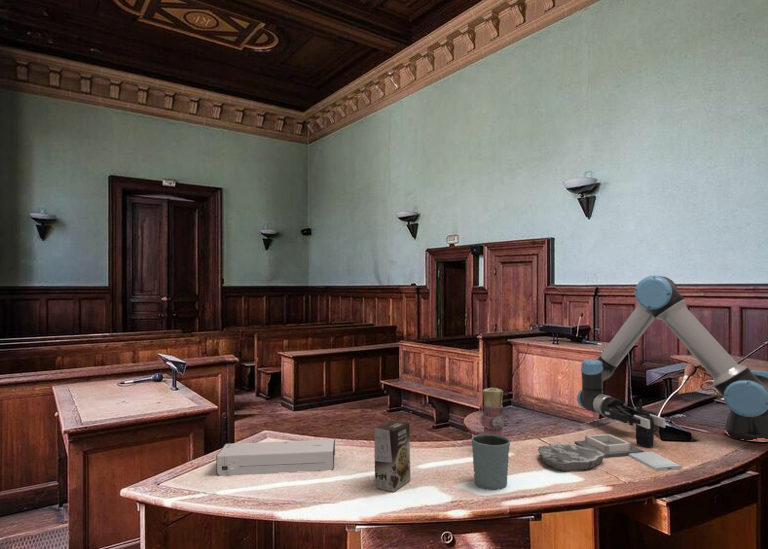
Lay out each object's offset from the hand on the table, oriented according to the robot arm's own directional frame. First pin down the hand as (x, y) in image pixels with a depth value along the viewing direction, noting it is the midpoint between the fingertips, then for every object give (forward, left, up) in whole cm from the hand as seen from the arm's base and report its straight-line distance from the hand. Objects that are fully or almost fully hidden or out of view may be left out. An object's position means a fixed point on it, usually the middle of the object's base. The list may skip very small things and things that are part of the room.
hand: (656, 423), depth 156 cm
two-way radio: (0, -5, -9) cm, 10 cm away
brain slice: (+33, +2, -9) cm, 34 cm away
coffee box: (+88, +6, -9) cm, 89 cm away
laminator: (+119, -16, -9) cm, 120 cm away
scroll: (+51, -12, -9) cm, 53 cm away
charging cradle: (+14, -5, -9) cm, 17 cm away
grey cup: (+62, +12, -9) cm, 64 cm away
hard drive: (+9, +9, -9) cm, 15 cm away
